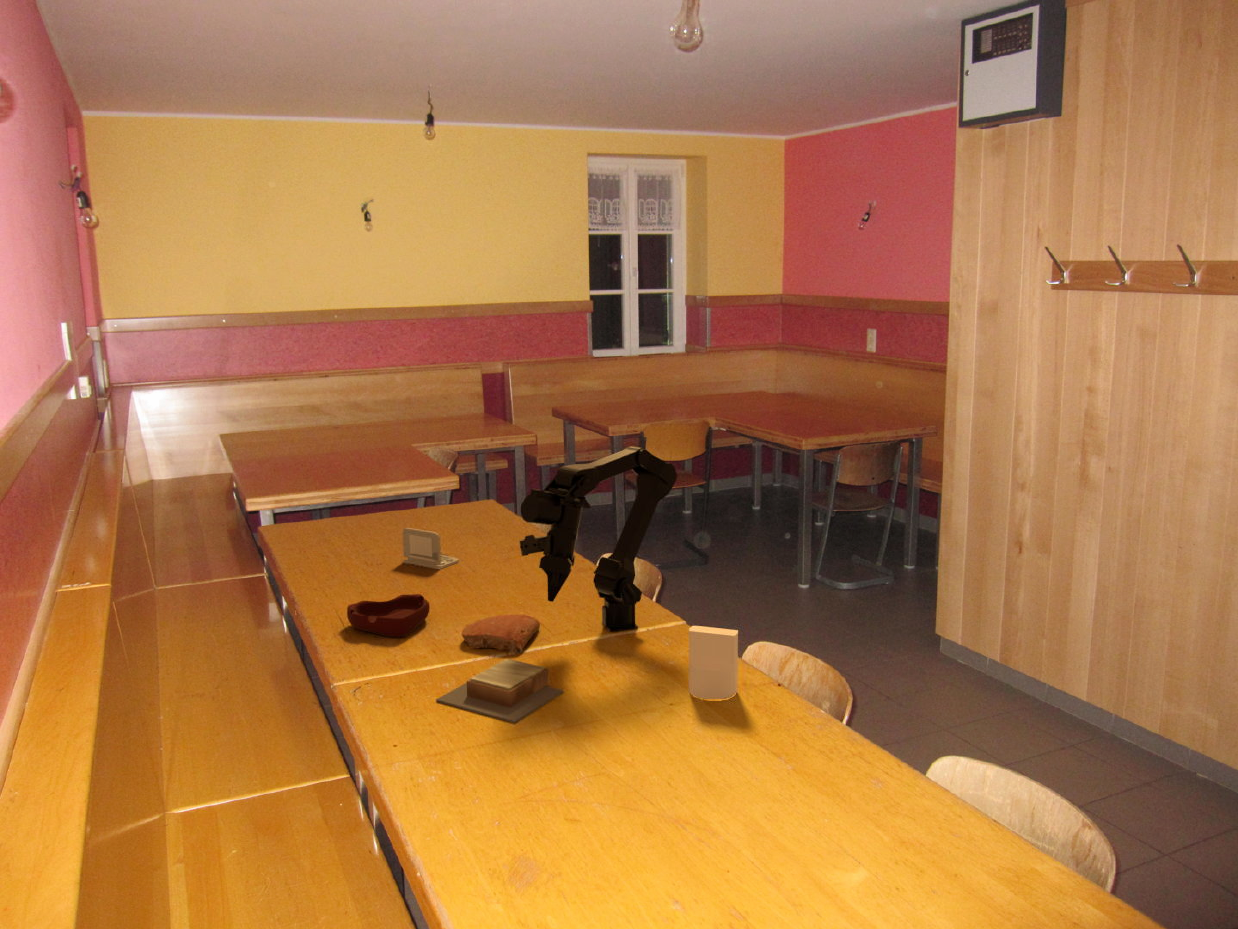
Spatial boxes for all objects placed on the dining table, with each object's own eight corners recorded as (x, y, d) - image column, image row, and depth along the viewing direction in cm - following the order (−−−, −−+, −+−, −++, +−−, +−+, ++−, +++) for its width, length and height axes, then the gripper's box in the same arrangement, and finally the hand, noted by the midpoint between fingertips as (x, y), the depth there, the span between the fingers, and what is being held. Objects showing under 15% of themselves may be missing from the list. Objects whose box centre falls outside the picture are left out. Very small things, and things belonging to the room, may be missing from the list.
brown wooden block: (506, 657, 189) (466, 678, 178) (548, 667, 183) (509, 689, 173) (506, 673, 189) (467, 696, 179) (548, 683, 184) (510, 707, 174)
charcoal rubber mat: (487, 673, 190) (487, 671, 190) (563, 692, 181) (563, 690, 181) (436, 701, 178) (436, 699, 178) (514, 723, 169) (514, 721, 169)
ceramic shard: (479, 603, 217) (543, 616, 214) (475, 631, 217) (538, 645, 215) (455, 616, 202) (524, 631, 200) (451, 646, 203) (519, 661, 200)
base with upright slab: (741, 685, 184) (742, 625, 181) (731, 704, 175) (732, 641, 173) (695, 679, 187) (696, 620, 184) (683, 698, 178) (683, 636, 176)
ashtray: (360, 648, 205) (359, 625, 204) (344, 624, 219) (343, 603, 218) (442, 633, 213) (441, 611, 212) (421, 611, 227) (420, 591, 226)
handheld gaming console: (461, 561, 267) (459, 526, 265) (438, 570, 260) (436, 534, 258) (425, 555, 274) (423, 521, 272) (402, 563, 266) (400, 528, 265)
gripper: (530, 517, 210) (517, 588, 210) (521, 522, 191) (506, 600, 191) (581, 527, 210) (567, 598, 210) (577, 532, 191) (562, 610, 191)
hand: (550, 601), depth 200 cm, fingers closed
